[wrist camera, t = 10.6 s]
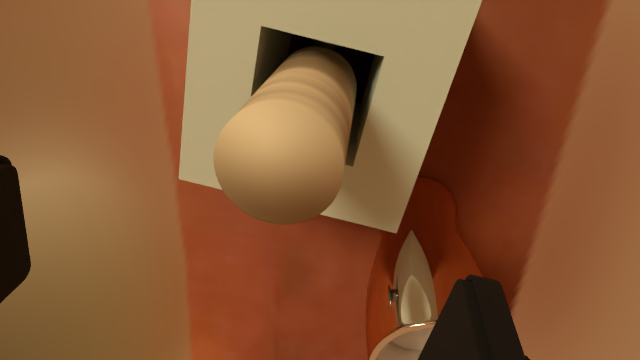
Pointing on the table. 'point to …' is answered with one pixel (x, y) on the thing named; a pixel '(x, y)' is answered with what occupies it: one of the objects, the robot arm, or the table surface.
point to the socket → (368, 117)
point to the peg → (290, 139)
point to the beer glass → (415, 274)
